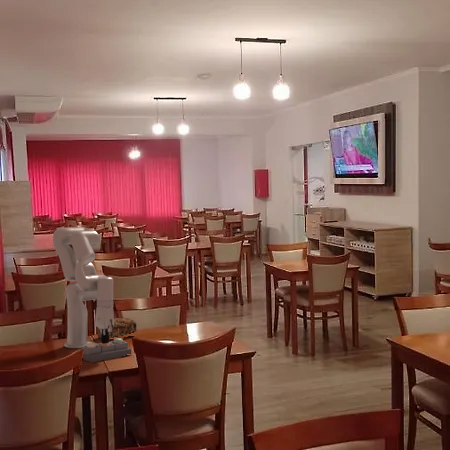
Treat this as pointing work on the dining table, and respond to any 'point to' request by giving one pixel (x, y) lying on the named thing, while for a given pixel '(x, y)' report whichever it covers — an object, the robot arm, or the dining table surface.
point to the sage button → (118, 340)
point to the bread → (121, 327)
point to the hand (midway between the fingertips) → (105, 342)
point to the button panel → (105, 351)
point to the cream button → (91, 345)
